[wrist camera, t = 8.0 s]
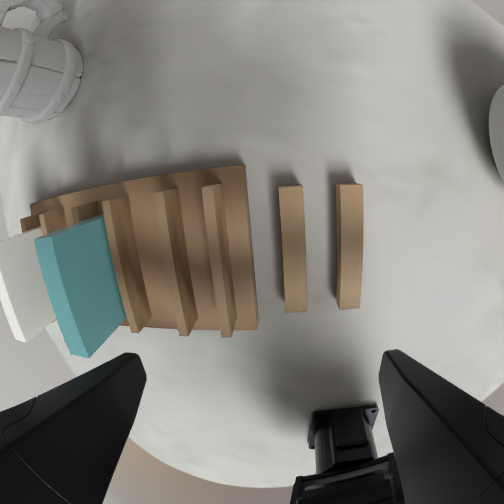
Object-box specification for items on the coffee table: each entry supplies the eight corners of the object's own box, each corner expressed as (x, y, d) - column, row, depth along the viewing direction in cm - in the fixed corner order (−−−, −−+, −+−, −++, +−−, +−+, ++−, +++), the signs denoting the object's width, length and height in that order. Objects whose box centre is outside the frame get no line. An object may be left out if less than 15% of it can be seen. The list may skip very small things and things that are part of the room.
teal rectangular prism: (139, 304, 20) (89, 358, 13) (122, 303, 20) (70, 354, 13) (120, 211, 18) (51, 236, 11) (103, 213, 18) (33, 239, 11)
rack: (258, 321, 20) (253, 350, 17) (65, 312, 23) (43, 330, 19) (244, 164, 17) (235, 164, 14) (38, 201, 20) (10, 209, 16)
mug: (25, 128, 18) (-76, 134, 6) (51, 21, 14) (-31, -7, 3) (77, 119, 17) (-48, 113, 6) (108, -1, 14) (22, -55, 2)
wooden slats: (354, 298, 19) (359, 307, 18) (285, 302, 20) (285, 312, 18) (356, 183, 17) (362, 184, 15) (278, 186, 17) (278, 187, 16)
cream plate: (78, 301, 20) (26, 342, 14) (66, 300, 21) (15, 339, 14) (58, 221, 18) (-6, 245, 12) (47, 223, 19) (-15, 247, 12)
